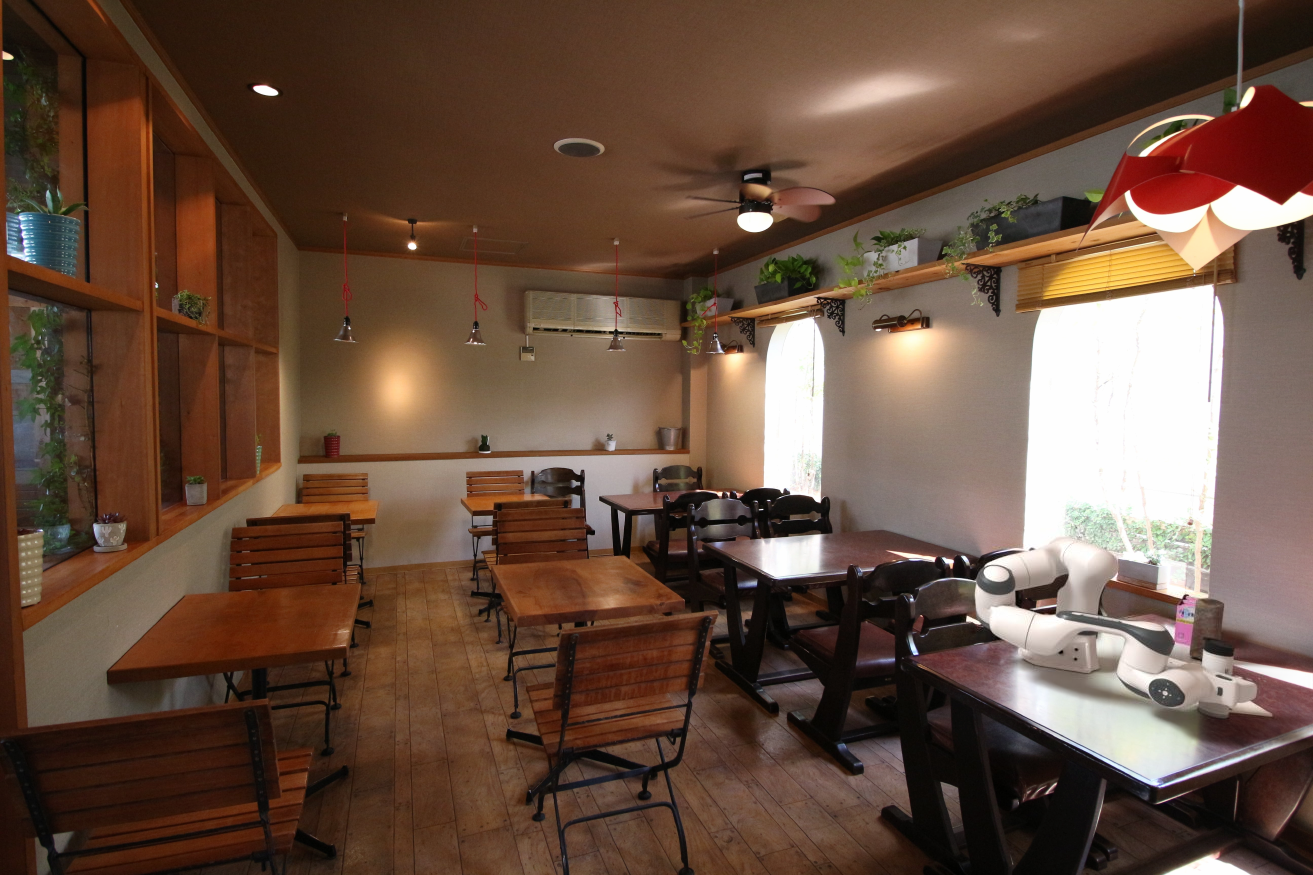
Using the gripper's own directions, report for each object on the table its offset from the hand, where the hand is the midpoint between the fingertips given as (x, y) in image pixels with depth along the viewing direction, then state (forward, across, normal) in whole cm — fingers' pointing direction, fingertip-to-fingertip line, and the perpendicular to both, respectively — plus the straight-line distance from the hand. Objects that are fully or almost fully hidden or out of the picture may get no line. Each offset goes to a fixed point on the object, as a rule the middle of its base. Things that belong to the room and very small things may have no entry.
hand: (1216, 672), depth 178 cm
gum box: (+70, -31, -11) cm, 77 cm away
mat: (+14, -1, -11) cm, 18 cm away
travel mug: (-1, 0, -11) cm, 11 cm away
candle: (+47, -19, -11) cm, 52 cm away
